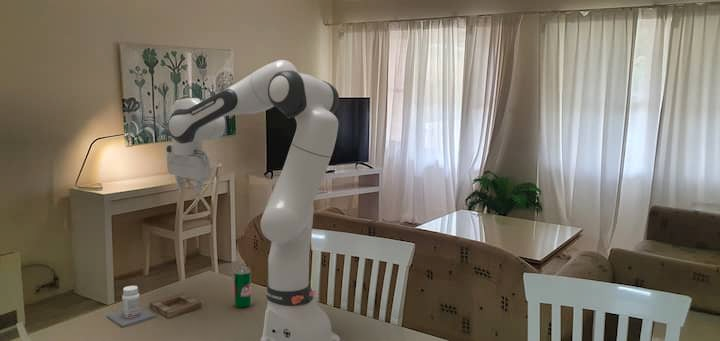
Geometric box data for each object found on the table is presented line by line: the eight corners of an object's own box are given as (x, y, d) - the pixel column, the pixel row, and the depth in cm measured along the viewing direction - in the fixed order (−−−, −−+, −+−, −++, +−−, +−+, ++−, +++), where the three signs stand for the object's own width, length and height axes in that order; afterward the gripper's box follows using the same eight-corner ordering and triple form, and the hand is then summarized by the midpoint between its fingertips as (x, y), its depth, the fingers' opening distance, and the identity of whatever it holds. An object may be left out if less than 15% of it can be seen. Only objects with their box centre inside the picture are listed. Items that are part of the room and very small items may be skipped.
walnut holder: (201, 307, 168) (201, 302, 168) (168, 318, 160) (168, 312, 160) (182, 298, 175) (182, 293, 175) (149, 308, 167) (149, 302, 167)
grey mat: (156, 317, 161) (155, 315, 161) (122, 327, 153) (122, 325, 153) (139, 307, 167) (139, 305, 167) (106, 317, 160) (106, 315, 160)
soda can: (243, 310, 167) (242, 272, 165) (231, 306, 170) (230, 269, 168) (254, 304, 171) (254, 268, 170) (242, 301, 174) (242, 265, 172)
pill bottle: (143, 312, 162) (142, 285, 161) (134, 319, 157) (133, 291, 156) (129, 311, 163) (127, 284, 162) (119, 317, 158) (118, 290, 157)
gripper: (215, 150, 169) (216, 194, 171) (180, 145, 182) (181, 186, 184) (197, 152, 164) (198, 197, 166) (162, 146, 178) (164, 188, 180)
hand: (189, 191), depth 176 cm, fingers open, 8 cm apart
